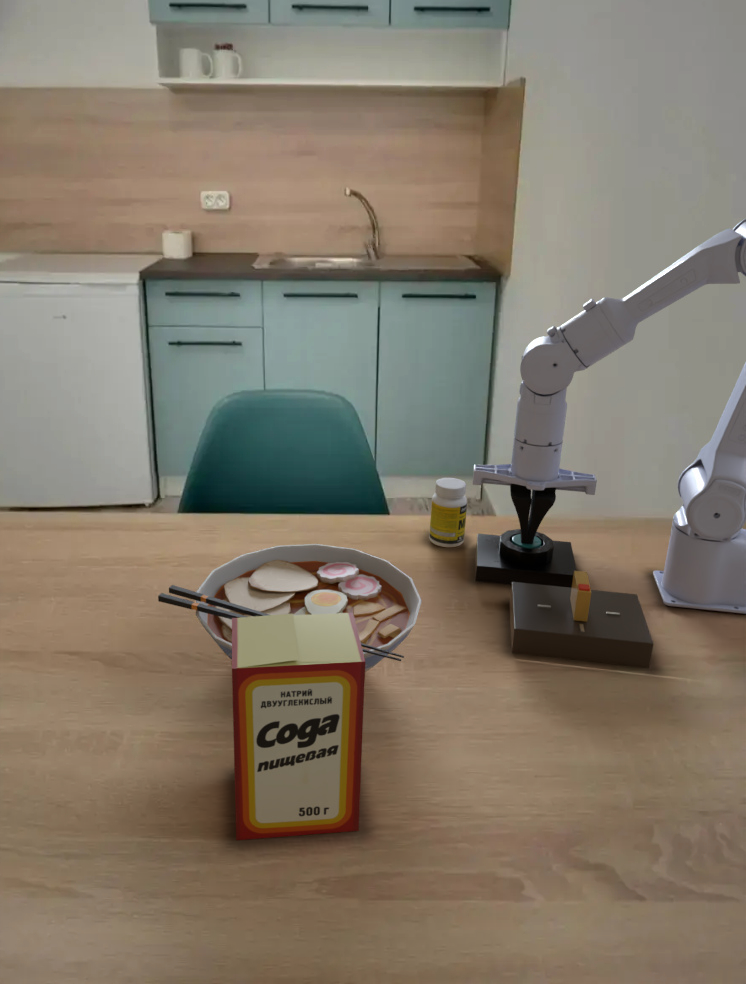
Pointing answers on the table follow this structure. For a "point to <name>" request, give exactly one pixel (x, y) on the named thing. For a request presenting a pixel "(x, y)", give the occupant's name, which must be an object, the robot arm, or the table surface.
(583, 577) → the lock knob
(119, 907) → the table surface
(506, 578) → the block
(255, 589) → the ramen bowl
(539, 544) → the bell button
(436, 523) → the supplement bottle
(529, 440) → the robot arm
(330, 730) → the baking soda box
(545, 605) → the lock plate
